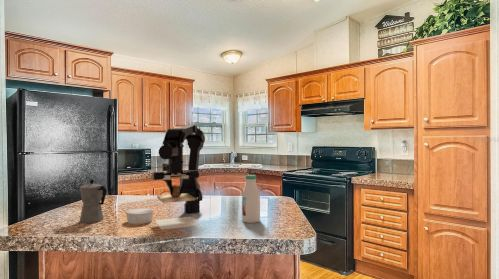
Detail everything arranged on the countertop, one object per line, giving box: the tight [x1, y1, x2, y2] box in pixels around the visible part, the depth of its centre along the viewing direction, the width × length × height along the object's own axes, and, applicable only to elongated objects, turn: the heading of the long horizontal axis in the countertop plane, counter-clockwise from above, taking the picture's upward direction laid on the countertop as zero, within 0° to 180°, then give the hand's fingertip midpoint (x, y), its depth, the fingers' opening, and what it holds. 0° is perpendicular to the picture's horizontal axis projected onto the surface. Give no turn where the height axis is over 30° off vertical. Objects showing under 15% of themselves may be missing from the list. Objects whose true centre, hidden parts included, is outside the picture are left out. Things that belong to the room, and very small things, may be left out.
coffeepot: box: [79, 179, 108, 224], centre depth 136 cm, size 15×9×18 cm, turn 65°
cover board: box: [156, 184, 195, 204], centre depth 130 cm, size 13×13×6 cm
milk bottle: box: [241, 174, 261, 224], centre depth 135 cm, size 8×8×20 cm
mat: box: [154, 216, 202, 230], centre depth 130 cm, size 16×16×1 cm
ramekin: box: [125, 207, 154, 225], centre depth 132 cm, size 11×11×5 cm
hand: (175, 195), depth 130 cm, fingers closed on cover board, 3 cm apart
